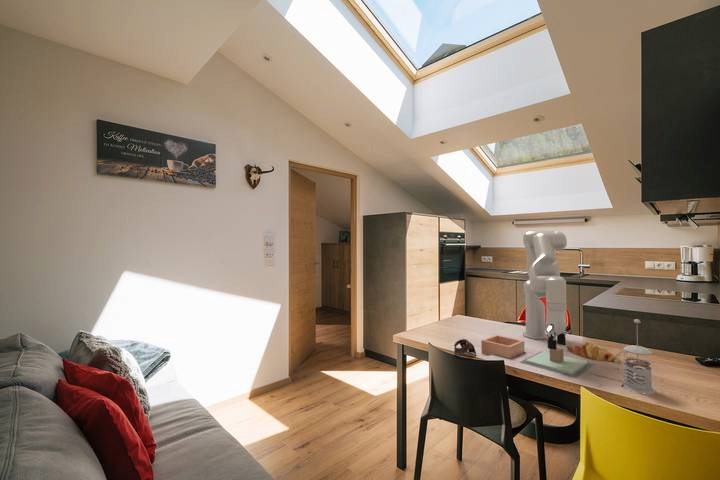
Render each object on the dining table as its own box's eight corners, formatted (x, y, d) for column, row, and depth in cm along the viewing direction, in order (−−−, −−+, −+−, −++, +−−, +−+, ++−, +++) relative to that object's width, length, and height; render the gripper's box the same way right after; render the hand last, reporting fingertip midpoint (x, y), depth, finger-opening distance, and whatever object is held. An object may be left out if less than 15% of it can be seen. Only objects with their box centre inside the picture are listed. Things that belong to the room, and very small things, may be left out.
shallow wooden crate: (496, 346, 172) (496, 334, 172) (524, 353, 162) (524, 340, 162) (481, 352, 163) (481, 340, 163) (510, 360, 153) (509, 347, 153)
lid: (543, 353, 159) (543, 340, 159) (588, 363, 145) (587, 349, 145) (525, 362, 147) (525, 348, 147) (572, 374, 133) (572, 359, 133)
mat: (540, 353, 162) (540, 351, 162) (595, 366, 145) (595, 363, 145) (519, 364, 148) (519, 362, 148) (576, 380, 131) (576, 377, 131)
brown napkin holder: (480, 359, 156) (472, 345, 155) (461, 367, 158) (453, 353, 156) (473, 344, 168) (466, 331, 166) (455, 352, 169) (448, 339, 168)
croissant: (622, 371, 148) (625, 353, 150) (616, 365, 142) (619, 346, 144) (569, 357, 164) (572, 341, 167) (561, 351, 159) (564, 335, 161)
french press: (645, 396, 117) (644, 323, 117) (609, 383, 127) (608, 316, 127) (661, 391, 121) (661, 320, 121) (625, 379, 131) (624, 314, 131)
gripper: (554, 303, 154) (555, 341, 154) (538, 307, 143) (538, 348, 143) (573, 305, 149) (574, 345, 148) (557, 310, 138) (558, 353, 137)
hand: (556, 346), depth 146 cm, fingers open, 9 cm apart
